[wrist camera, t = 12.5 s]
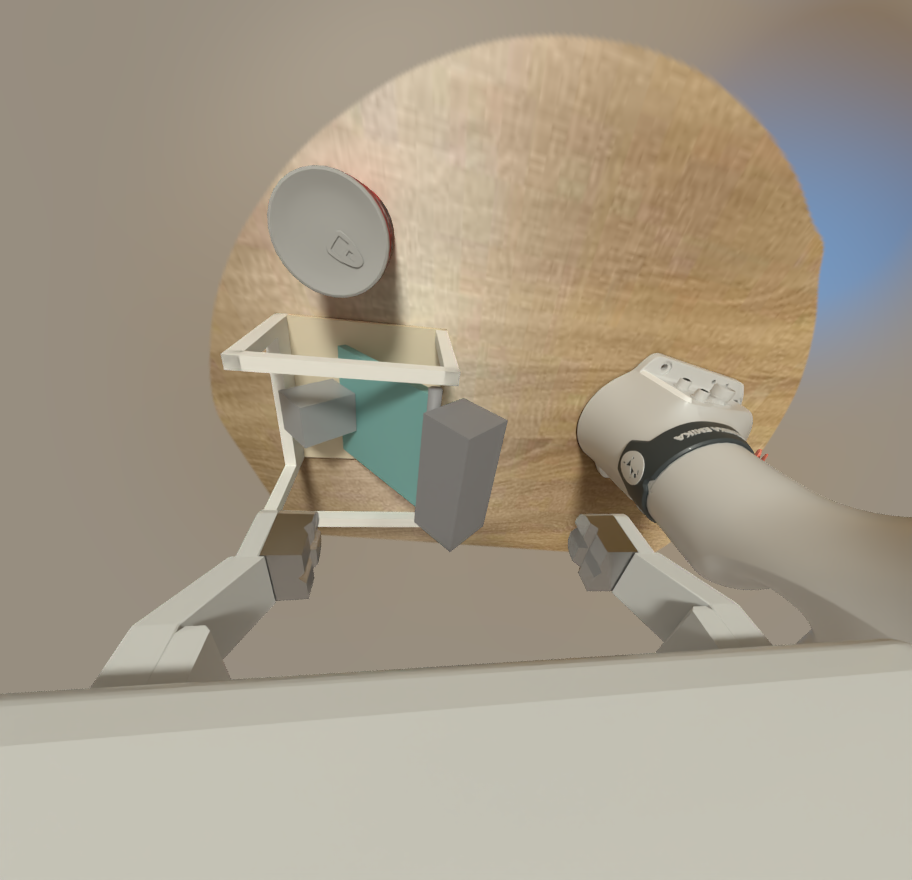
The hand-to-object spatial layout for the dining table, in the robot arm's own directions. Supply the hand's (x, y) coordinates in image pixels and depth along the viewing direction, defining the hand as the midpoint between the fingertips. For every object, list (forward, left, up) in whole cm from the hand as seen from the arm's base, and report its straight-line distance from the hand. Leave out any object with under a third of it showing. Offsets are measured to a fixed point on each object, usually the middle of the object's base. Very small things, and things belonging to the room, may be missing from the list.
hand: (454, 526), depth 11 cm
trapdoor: (0, +11, -24) cm, 26 cm away
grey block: (+8, +11, -29) cm, 32 cm away
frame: (+6, +11, -31) cm, 34 cm away
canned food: (+7, -6, -31) cm, 33 cm away
